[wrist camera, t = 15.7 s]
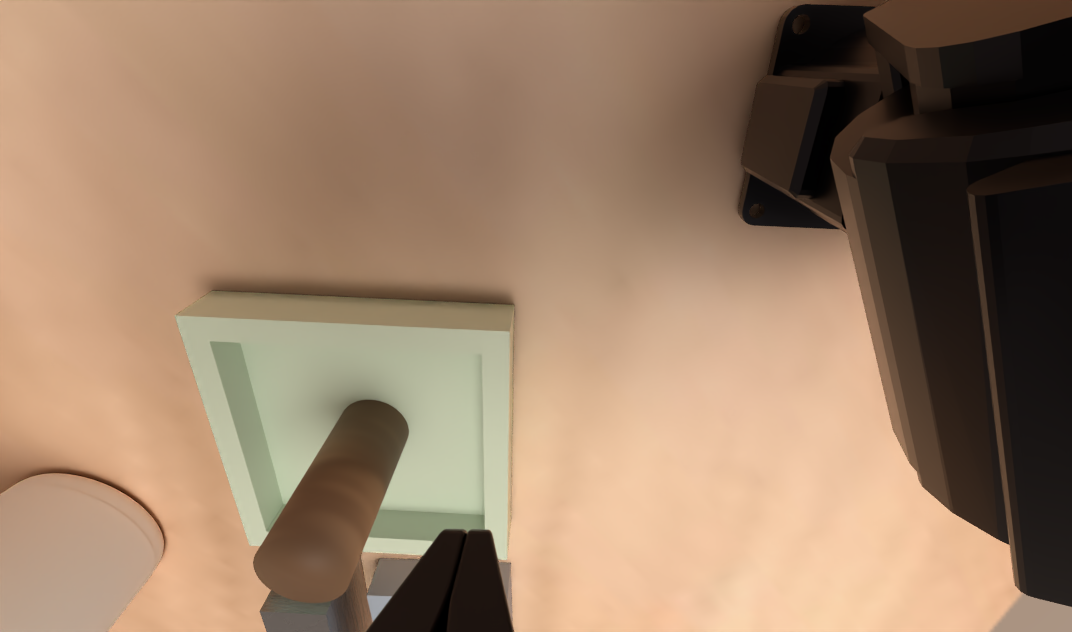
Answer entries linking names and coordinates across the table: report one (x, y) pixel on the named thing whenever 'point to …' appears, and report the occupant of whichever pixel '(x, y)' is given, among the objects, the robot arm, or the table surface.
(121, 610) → the pill bottle
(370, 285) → the table surface
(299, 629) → the dark gray block
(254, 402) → the tray
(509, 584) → the board
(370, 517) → the dowel
